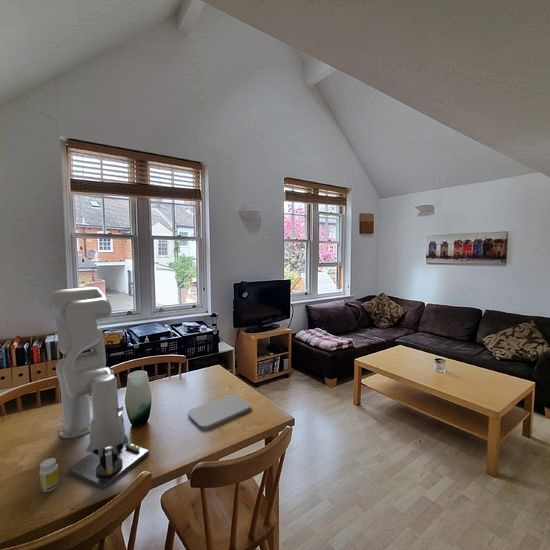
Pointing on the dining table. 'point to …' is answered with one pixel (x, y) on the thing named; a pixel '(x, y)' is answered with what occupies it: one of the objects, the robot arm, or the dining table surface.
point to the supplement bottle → (49, 475)
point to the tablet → (218, 411)
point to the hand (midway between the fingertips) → (109, 463)
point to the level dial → (109, 465)
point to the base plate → (88, 464)
